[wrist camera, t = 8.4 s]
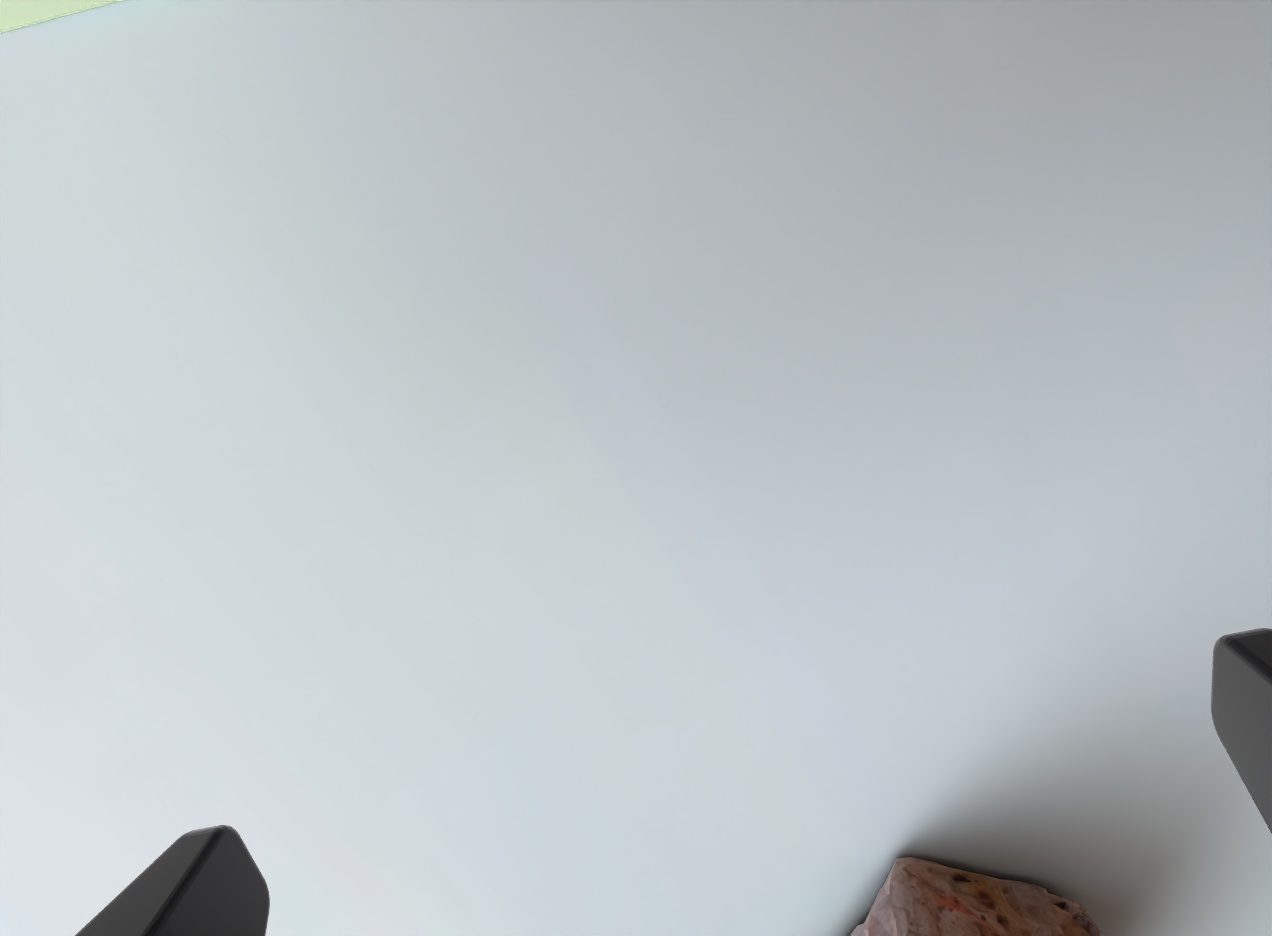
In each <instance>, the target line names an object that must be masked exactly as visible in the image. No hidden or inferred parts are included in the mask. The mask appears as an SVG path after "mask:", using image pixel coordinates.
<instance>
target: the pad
mask: <svg viewBox="0 0 1272 936" xmlns="http://www.w3.org/2000/svg"><path fill="white" fill-rule="evenodd" d="M118 1H121V0H0V33H3V32H7V31H11V30H14V29H18V28H22V27H25V26H29V25H33V24H36V23H40V22H44V21H48V20H51V19H55V18H59V17H62V16H66V15H70V14H73V13H77V12H81V11H85V10H88V9H92V8H96V7H99V6H103V5H107V4H110V3H114V2H118Z"/></svg>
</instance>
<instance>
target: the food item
mask: <svg viewBox="0 0 1272 936" xmlns="http://www.w3.org/2000/svg"><path fill="white" fill-rule="evenodd" d="M1083 914H1084V915H1085V916H1082V915H1083ZM1081 916H1082V917H1081ZM1099 935H1100V931H1099V929H1098V928H1097V926H1096V925H1095V924H1094V922H1093V921H1092V920H1091V918H1090V917H1089V916H1088V914H1087V913H1086V911H1085V910H1084V909H1083V907H1082V906H1081V905H1080V904H1078V903H1075V902H1073V901H1071V900H1069V899H1067V898H1064V897H1061V896H1057V895H1053V894H1049V893H1048V892H1047V890H1046V889H1045V888H1043V887H1040V886H1037V885H1034V884H1030V883H1025V882H1021V881H1012V880H1002V879H997V878H993V877H989V876H985V875H981V874H976V873H972V872H968V871H963V870H959V869H955V868H950V867H946V866H943V865H941V864H938V863H936V862H933V861H929V860H924V859H919V858H914V857H905V858H898V859H896V860H895V862H894V864H893V866H892V868H891V871H890V873H889V875H888V877H887V879H886V881H885V883H884V885H883V887H882V888H881V889H880V890H879V892H878V894H877V897H876V899H875V901H874V903H873V905H872V908H871V910H870V912H869V914H868V916H867V918H866V920H865V922H864V924H861V925H857V927H856V928H855V929H854V931H853V932H852V934H851V935H850V936H1099Z"/></svg>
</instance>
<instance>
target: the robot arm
mask: <svg viewBox="0 0 1272 936" xmlns="http://www.w3.org/2000/svg"><path fill="white" fill-rule="evenodd" d="M1211 712H1212V719H1213V722H1214V726H1215V729H1216V731H1217V734H1218V736H1219V738H1220V740H1221V742H1222V744H1223V745H1224V747H1225V749H1226V751H1227V753H1228V754H1229V756H1230V758H1231V760H1232V762H1233V764H1234V765H1235V767H1236V769H1237V771H1238V773H1239V774H1240V776H1241V778H1242V780H1243V782H1244V784H1245V785H1246V787H1247V789H1248V791H1249V793H1250V795H1251V796H1252V798H1253V800H1254V802H1255V804H1256V805H1257V807H1258V809H1259V811H1260V813H1261V815H1262V816H1263V818H1264V820H1265V822H1266V824H1267V825H1268V827H1269V829H1270V831H1271V833H1272V629H1267V628H1262V629H1254V630H1249V631H1244V632H1239V633H1233V634H1228V635H1224V636H1222V637H1221V638H1219V639H1218V640H1217V641H1216V643H1215V646H1214V651H1213V670H1212V696H1211ZM269 906H270V899H269V891H268V888H267V884H266V882H265V879H264V878H263V876H262V874H261V872H260V871H259V869H258V867H257V865H256V863H255V862H254V860H253V858H252V856H251V855H250V853H249V851H248V849H247V848H246V846H245V844H244V842H243V841H242V839H241V837H240V835H239V834H238V832H237V831H236V830H235V829H233V828H232V827H230V826H226V825H219V826H214V827H209V828H204V829H198V830H193V831H190V832H188V833H186V834H184V835H182V836H181V837H180V838H179V839H178V840H177V841H175V842H174V843H173V844H172V845H171V846H170V847H169V848H168V849H167V850H166V851H165V852H164V853H163V854H162V855H161V856H159V857H158V858H157V859H156V860H155V861H154V862H153V863H152V864H151V865H150V866H149V867H148V868H147V869H146V870H145V871H143V872H142V873H141V874H140V875H139V876H138V877H137V878H136V879H135V880H134V881H133V882H132V883H131V884H130V885H129V886H127V887H126V888H125V889H124V890H123V891H122V892H121V893H120V894H119V895H118V896H117V897H116V898H115V899H114V900H113V901H111V902H110V903H109V904H108V905H107V906H106V907H105V908H104V909H103V910H102V911H101V912H100V913H99V914H98V915H97V916H95V917H94V918H93V919H92V920H91V921H90V922H89V923H88V924H87V925H86V926H85V927H84V928H83V929H82V930H81V931H79V932H78V933H77V934H76V935H75V936H265V934H266V928H267V922H268V915H269Z"/></svg>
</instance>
